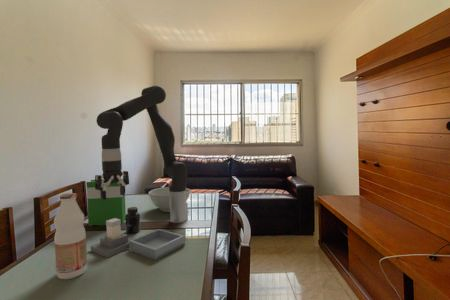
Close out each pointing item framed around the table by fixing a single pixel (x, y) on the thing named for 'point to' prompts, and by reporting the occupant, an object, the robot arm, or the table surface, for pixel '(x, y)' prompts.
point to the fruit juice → (70, 239)
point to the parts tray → (156, 243)
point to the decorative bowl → (163, 198)
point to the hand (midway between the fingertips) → (113, 197)
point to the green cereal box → (105, 204)
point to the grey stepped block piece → (111, 245)
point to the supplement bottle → (132, 220)
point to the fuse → (113, 228)
